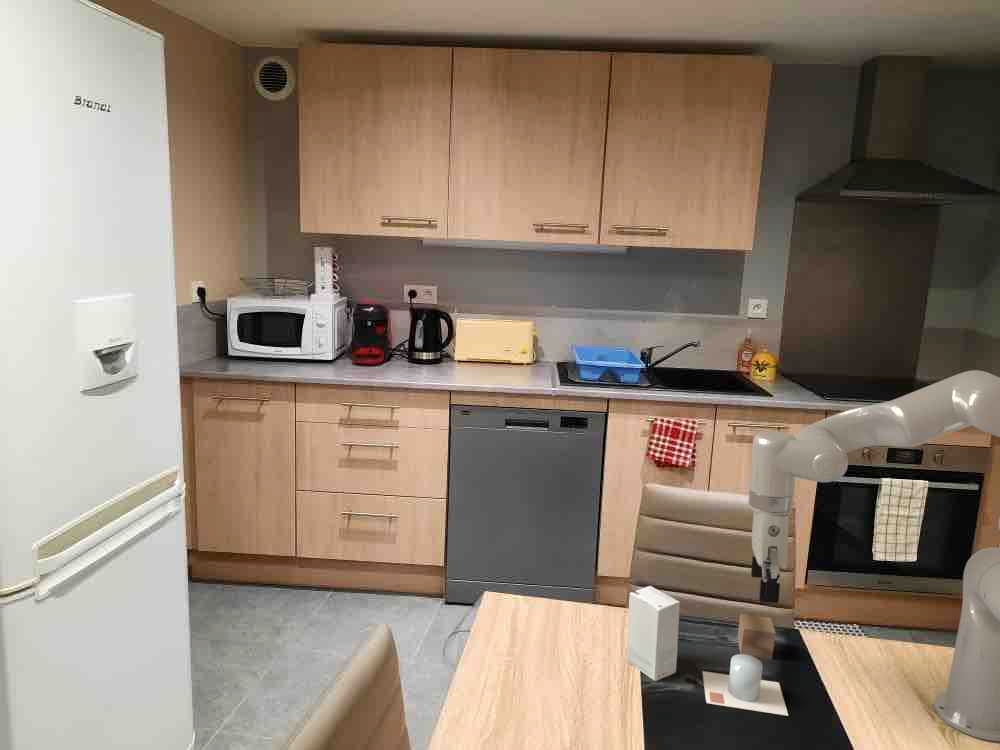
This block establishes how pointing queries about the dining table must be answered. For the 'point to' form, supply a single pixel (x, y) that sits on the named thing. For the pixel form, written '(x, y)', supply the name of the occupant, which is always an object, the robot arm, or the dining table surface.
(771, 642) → the walnut block
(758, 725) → the dining table surface
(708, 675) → the letter
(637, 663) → the skincare box
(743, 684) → the grey rounded cylinder
